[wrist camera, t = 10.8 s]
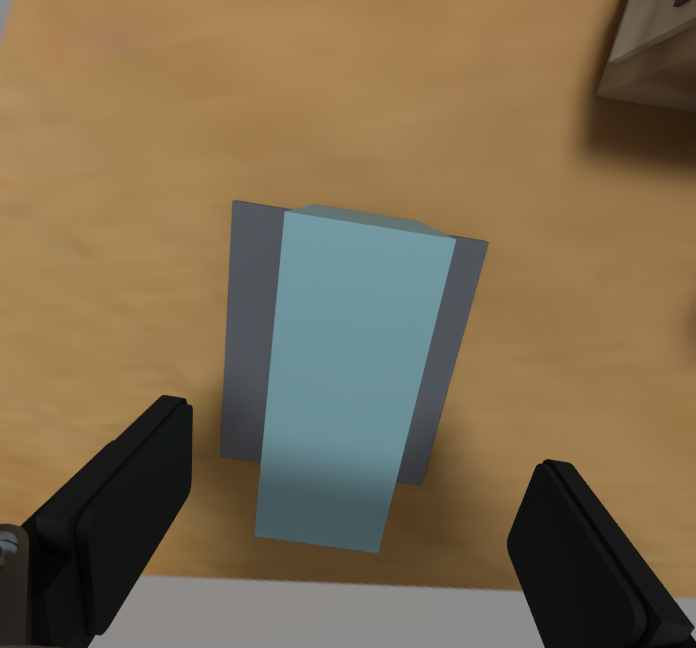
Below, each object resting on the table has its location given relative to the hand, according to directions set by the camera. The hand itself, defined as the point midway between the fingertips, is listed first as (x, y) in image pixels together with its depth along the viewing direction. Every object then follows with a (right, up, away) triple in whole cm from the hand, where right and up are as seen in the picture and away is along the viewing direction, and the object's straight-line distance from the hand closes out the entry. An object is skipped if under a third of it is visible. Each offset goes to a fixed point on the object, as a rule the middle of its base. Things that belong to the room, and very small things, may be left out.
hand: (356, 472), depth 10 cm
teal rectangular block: (0, +4, +6) cm, 7 cm away
